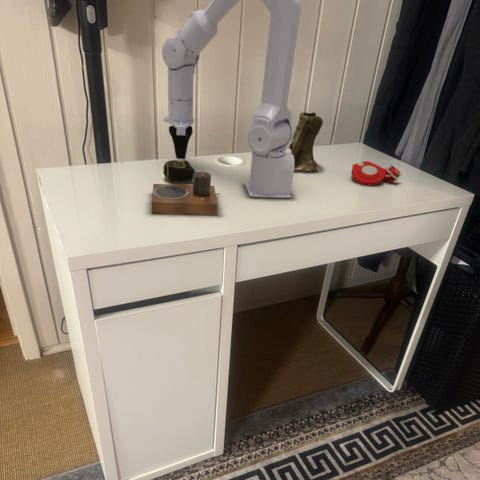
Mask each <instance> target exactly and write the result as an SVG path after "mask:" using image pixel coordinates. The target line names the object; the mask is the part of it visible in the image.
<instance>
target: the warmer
mask: <svg viewBox="0 0 480 480" xmlns="http://www.w3.org/2000/svg"><path fill="white" fill-rule="evenodd" d="M162 186H177V187H181V188H184V189H186V190H187V191H188V195H187V196H186V197H184V198H180V199H163V198H160V197H157V196H155V195H154V190H155V189H156V188H158V187H162ZM151 194H152V195H151V214H154V215H191V216H192V215H193V216H197V215H198V216H218V205H219V204H218V198H217V195H219V196H220V195H221V193H220V192H218V193H217V192H216V187H215V185H210V195H209V196H206V197H199V196H195V195H194V194H193V184H174V183H173V184H172V183H171V184H170V183H153V185H152V193H151Z"/></svg>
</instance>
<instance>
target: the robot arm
mask: <svg viewBox="0 0 480 480" xmlns="http://www.w3.org/2000/svg"><path fill="white" fill-rule="evenodd" d="M240 1H241V0H211V1H210V2H209V4H208V5H207V6H206V8H205V9H197V10H196V11H195V10H194V11H191V12H190V13H189V14H188V17H189V19H188V21H187V22H185V24H184V25H183V27H182V28H181V29H178V30H177V31H176V35H175V37H168V38H166V39H165V41H164V43H163V45H162V49H161V56H162V57H161V58H162V60H163V62H164V64H165V66H167V99H168V101H167V103H168V107H167V108H168V116H164V117H163V122H164V123H169V124H170V125H169V126H168V132H169V135H170V137H171V140H172V143H173V148H174V153H175V154H174V155H175V158H176V159H177V160H185V159H186V157H187V152H188V145H189V142H190V139H191V137H192V135H193V132H194V131H193V126H192V125H193V124H194V122H195V120H194V75H195V74H196V66H197V65H198V63H199V61H200V55H201V53H202V52H203V50H205V48H206V47H207V46H208V45H209V44H210V42H211V41H212V40H213V39H214V38H215V37H216V35H218V24H219V23H220V22H221V21H223V19H224V18H225V17H226V16H227V14H229V13H230V11H232V10H233V8H235V6H236V5H238V4H239V2H240ZM261 1H262V3H263V4H264V6H265V7H266V9H267V10H268V12H270V19H269V20H270V21H269V29H268V37H267V47H266V48H267V49H266V55H265V64H264V74H263V81H262V90H261V91H262V92H261V99H260V105H259V107H258V108H257V110H256V111H255V113H254V115H253V120H252V124H251V127H250V128H249V130H248V132H247V144H248V146H249V148H250V149H251V162H250V173H249V182H245V187H246V190H247V194H248V196H249V197H250V198H271V199H272V198H273V199H274V198H275V199H291V198H292V187H293V182H294V181H293V180H294V175H295V174H294V173H295V170H294V156H293V154H291V153H290V152H286V150H287V149H286V148H287V145H289V144H290V142H292V140H293V136H294V130H293V126H292V115H293V114H292V112H291V111H290V109H289V107H288V101H289V95H290V94H289V93H290V87H291V80H292V74H293V66H294V60H295V53H296V44H297V39H298V31H299V24H300V18H301V12H302V11H301V10H302V0H261Z"/></svg>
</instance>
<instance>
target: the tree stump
mask: <svg viewBox="0 0 480 480" xmlns="http://www.w3.org/2000/svg"><path fill="white" fill-rule="evenodd" d="M323 123H324V121H323V119H322V117H321V116H319V115H317V112H310V113H308V112H306V111H305V112H300V114H299V119H298V124H297V125H296V127H295V130H294V131H293V135H292V139H291V143H289V149H290V152H291V154H293V156H294V171H298V170H302V171H313V172H316V171H317V172H320V171H321V169H320V167H319V165H318V162H316V160H315V158H314V145H315V141H316V137H317V136H318V134H319V132H320V131H321V129H322V126H323Z"/></svg>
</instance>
